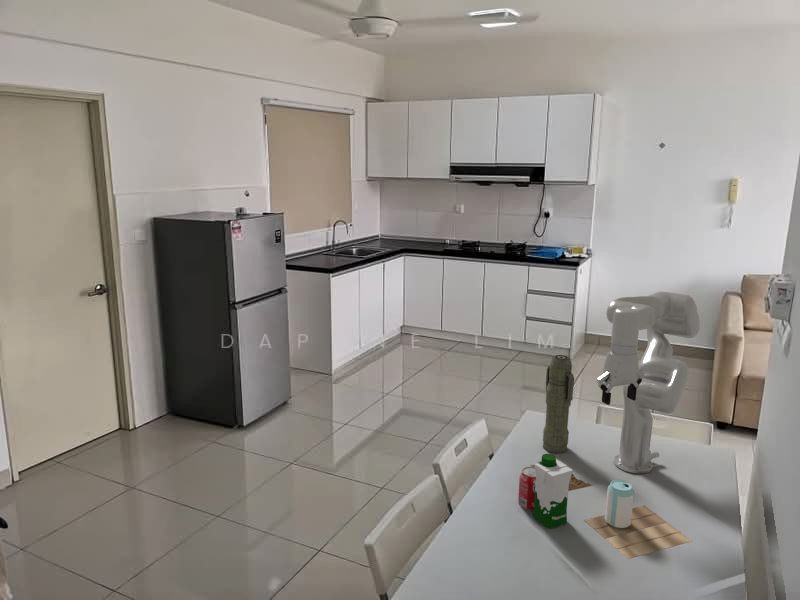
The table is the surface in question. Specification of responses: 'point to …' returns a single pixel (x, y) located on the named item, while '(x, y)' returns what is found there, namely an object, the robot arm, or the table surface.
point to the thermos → (558, 404)
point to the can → (619, 504)
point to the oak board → (648, 540)
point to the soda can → (527, 488)
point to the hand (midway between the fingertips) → (618, 401)
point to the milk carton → (551, 491)
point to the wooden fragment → (575, 483)
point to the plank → (639, 520)
